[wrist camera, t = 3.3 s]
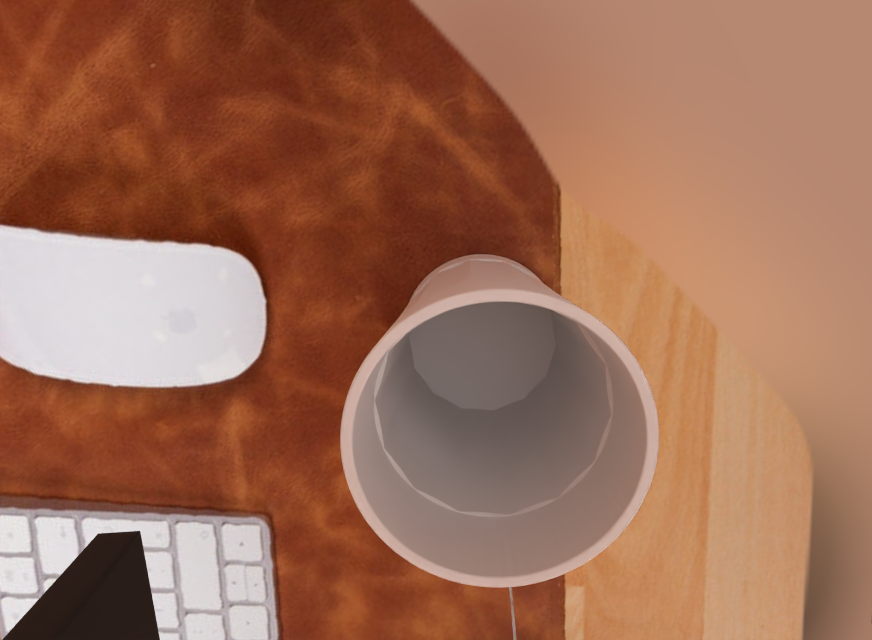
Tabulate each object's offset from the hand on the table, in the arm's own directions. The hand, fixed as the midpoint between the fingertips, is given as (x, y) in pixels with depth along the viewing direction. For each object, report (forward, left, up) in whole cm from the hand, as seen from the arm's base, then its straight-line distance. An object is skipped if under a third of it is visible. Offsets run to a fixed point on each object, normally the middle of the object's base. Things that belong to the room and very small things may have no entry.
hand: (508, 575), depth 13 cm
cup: (0, 0, -18) cm, 18 cm away
